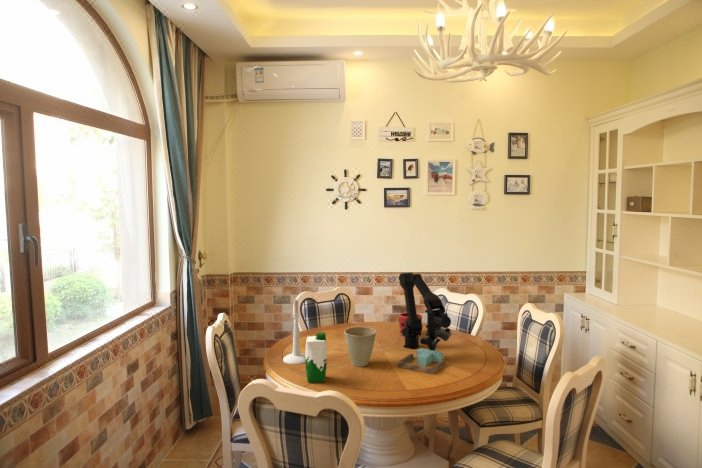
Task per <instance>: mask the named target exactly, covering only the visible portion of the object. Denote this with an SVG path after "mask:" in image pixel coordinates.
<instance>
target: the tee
mask: <svg viewBox="0 0 702 468" xmlns="http://www.w3.org/2000/svg"><path fill="white" fill-rule="evenodd" d="M416 359H417V365H418V366H423V367H427V366H429V364H431V363H432V362H433V363H437V364H438V363H439V362H440V361H442V360H444V352H443V351H439V350H435V351H433V350H430V349H429V348H428V349H427V348H421V347H420V348H418V349H417V350H416Z"/></svg>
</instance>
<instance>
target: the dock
mask: <svg viewBox="0 0 702 468" xmlns="http://www.w3.org/2000/svg"><path fill="white" fill-rule="evenodd" d="M413 359H414V353H409V354H408V355H406V356H405V357H403V358H401V359H400V360H398V361H396V367H397V368H398V367H399V368H403V369H405V370H406V369H407V370H412V371H416V372H420V373H425V374H430V375H434V374H435V373H437V372H438V371H439V370H441V369H442V368H444V366H445V365H446V360H444V359H443V360H442V361H440V362H439V363H438V362H437V364H435V365H434V366H432V367H427V366H421V365H418V364H413V363H408V362H410V361H411V360H413Z"/></svg>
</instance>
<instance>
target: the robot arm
mask: <svg viewBox="0 0 702 468" xmlns="http://www.w3.org/2000/svg"><path fill="white" fill-rule="evenodd" d="M398 281H399V285H400V287H401V288H402V289H403V293H404V299H405V307H406V313H407V320H406V322H405V328H404V329H403V330H402V334H403V335H404V336H403V335H402V336H403V337H404V345H403V348H406V349H407V348H408V349H413V350H415V349H417V348H418V347H420V345H424V346H425V345H426V346H427V347H428V350H433V351H436V349H437V346H438V343H439V342H440V341H442V340H443V341H444V342H447V341H448V340H450V337H451V335H452V332H451V328H449V327H450V326H451V323H452V320H451V318H450V317H449V316H448V313H447V312H446V310H445V308H446V307H445V306H444V305H443V301H442V300H441V298H440V297H439V296H438V295H437V294H435V293H433V292H432V291H431V289H430V288H429V286H428V285H427V284H426V281H425V280H424V278H422V274H421V273H413V272H412V271H411V272H401V273H400V274H399V276H398ZM414 288H417V290H418V292H419V294H420V295H421V297H422V298H423V304H424V307H425V308H426V309H425V310H424V312H425V313H426V314H427V315H426V317H427V318H426V319H427V320H426V323H427V324H426V325H425V328H426V333H425V336H424V335H423V337H421V338H419V336H421V335H422V331H423V327H424V326H423V324H422V323H423V322H422V321H423V319H422V320H421V319H419V318H418V317H417V314H418V313H417V306H416V300H415V291H414Z"/></svg>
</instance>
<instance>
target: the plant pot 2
mask: <svg viewBox="0 0 702 468" xmlns="http://www.w3.org/2000/svg"><path fill="white" fill-rule="evenodd" d="M417 317H418V318H419V319H421V320H422V321H423V319H422V318H423V316H422V314H419V313H417ZM406 320H407V312H402V313H399V315H398V326H399V328H400V330H399V334H400V335H401V336H403V337H405V336H404V335H403V334H402V330H403V329H404V328H405V322H406Z"/></svg>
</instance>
